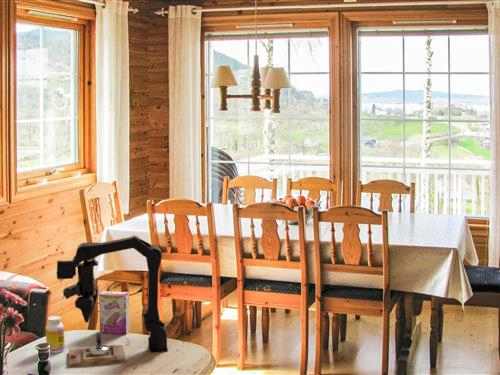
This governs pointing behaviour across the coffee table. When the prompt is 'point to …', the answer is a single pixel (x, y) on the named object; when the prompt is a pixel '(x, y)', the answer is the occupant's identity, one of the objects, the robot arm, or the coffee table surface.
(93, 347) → the crank wheel
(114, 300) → the candy bar box
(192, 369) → the coffee table surface
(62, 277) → the robot arm
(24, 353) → the coffee table surface
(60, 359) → the coffee table surface
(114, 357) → the board
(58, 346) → the supplement bottle
